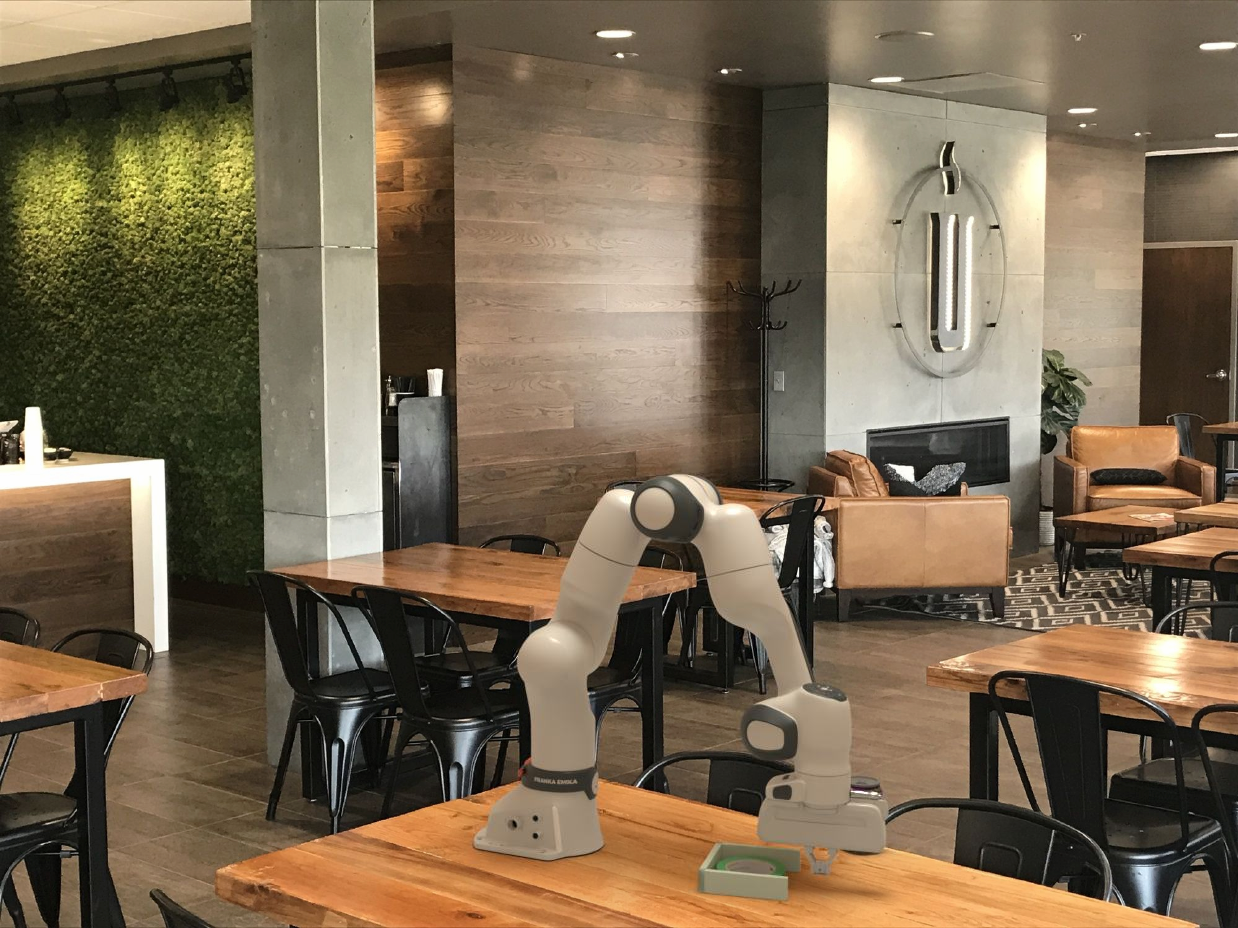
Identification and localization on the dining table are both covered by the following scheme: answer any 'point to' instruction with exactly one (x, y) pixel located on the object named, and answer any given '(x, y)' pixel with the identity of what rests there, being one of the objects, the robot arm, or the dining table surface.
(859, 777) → the beverage can
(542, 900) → the dining table surface
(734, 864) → the tape roll
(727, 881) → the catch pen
